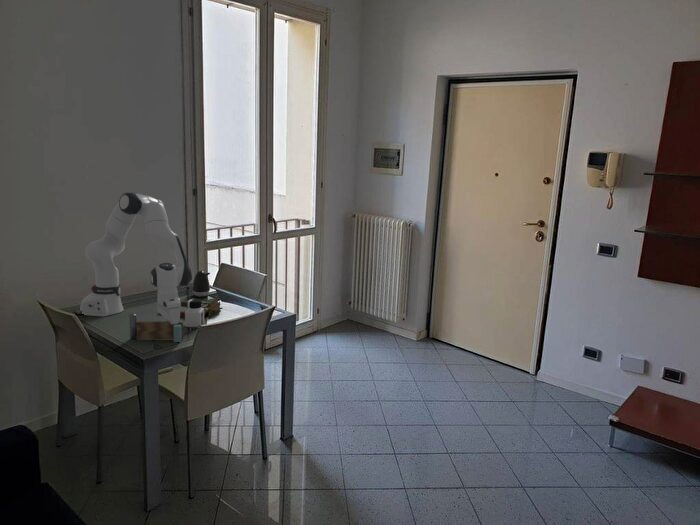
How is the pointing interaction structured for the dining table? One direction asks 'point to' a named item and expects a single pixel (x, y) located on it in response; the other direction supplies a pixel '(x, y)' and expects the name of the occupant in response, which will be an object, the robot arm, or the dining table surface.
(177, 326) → the latch post
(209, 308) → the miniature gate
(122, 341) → the dining table surface
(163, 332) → the gate
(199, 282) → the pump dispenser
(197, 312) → the container
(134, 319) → the hinge post
